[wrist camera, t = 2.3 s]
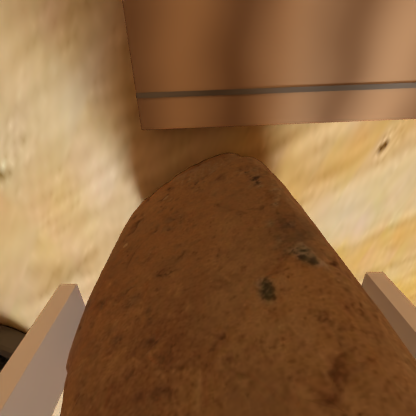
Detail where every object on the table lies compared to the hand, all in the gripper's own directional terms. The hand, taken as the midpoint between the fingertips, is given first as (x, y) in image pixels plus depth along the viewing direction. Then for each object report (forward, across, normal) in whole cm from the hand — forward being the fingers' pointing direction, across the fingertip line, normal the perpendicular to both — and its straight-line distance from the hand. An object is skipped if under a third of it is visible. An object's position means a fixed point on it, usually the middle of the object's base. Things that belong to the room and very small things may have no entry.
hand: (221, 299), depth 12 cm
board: (+10, +7, +11) cm, 17 cm away
